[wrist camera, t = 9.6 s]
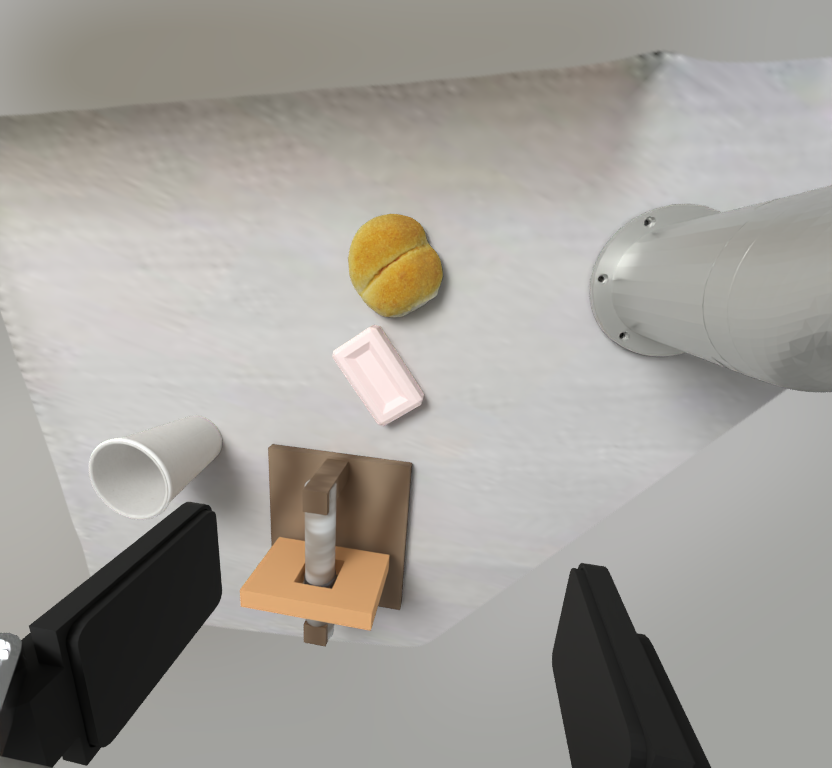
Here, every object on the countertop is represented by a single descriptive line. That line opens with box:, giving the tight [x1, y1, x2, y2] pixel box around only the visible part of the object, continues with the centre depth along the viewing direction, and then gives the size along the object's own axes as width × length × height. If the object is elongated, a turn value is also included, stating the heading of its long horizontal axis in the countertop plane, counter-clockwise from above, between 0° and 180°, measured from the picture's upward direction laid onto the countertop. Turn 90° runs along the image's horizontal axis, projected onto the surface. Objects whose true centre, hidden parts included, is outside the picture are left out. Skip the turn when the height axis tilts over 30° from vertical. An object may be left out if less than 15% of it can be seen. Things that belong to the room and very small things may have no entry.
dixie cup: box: [89, 415, 222, 520], centre depth 41 cm, size 8×8×10 cm
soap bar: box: [333, 325, 424, 426], centre depth 40 cm, size 5×9×2 cm, turn 33°
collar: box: [240, 537, 389, 631], centre depth 41 cm, size 13×2×8 cm, turn 86°
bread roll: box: [348, 214, 443, 317], centre depth 36 cm, size 8×9×4 cm
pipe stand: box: [268, 444, 412, 646], centre depth 43 cm, size 16×19×8 cm
